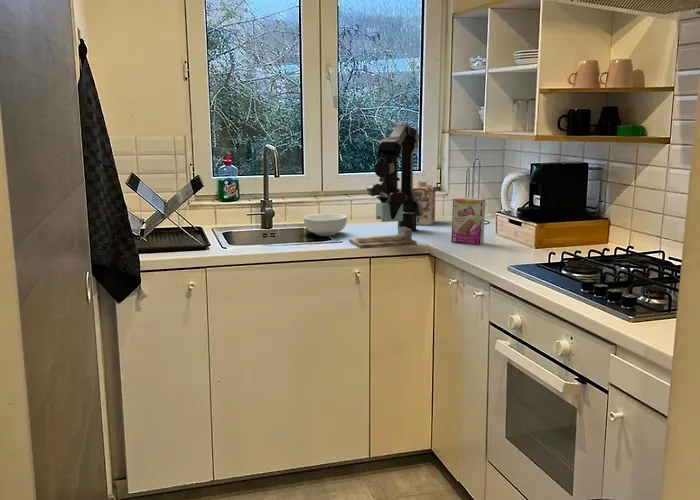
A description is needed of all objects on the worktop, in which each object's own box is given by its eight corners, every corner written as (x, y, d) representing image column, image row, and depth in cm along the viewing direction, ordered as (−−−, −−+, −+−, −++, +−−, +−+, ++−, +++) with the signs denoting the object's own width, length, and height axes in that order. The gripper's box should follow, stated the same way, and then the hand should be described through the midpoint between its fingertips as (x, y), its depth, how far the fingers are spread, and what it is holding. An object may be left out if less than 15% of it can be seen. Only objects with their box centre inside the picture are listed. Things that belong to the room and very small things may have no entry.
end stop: (404, 237, 270) (404, 226, 269) (411, 240, 263) (411, 229, 262) (398, 237, 269) (398, 227, 268) (405, 240, 262) (405, 230, 262)
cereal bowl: (313, 229, 292) (313, 212, 290) (352, 231, 287) (352, 214, 285) (297, 236, 276) (297, 218, 275) (337, 239, 271) (337, 220, 269)
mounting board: (404, 238, 273) (404, 235, 272) (416, 244, 261) (416, 241, 261) (349, 241, 266) (349, 239, 266) (359, 248, 255) (359, 245, 254)
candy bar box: (450, 242, 264) (452, 198, 261) (454, 240, 269) (456, 196, 266) (480, 245, 260) (482, 200, 256) (484, 242, 264) (485, 198, 261)
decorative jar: (435, 221, 312) (436, 180, 308) (432, 225, 301) (433, 182, 297) (408, 220, 314) (408, 179, 311) (404, 224, 303) (404, 182, 300)
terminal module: (396, 218, 267) (396, 202, 266) (402, 220, 261) (402, 204, 260) (375, 219, 264) (376, 203, 263) (382, 222, 258) (382, 205, 257)
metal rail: (406, 238, 268) (406, 234, 268) (409, 239, 265) (409, 235, 265) (355, 241, 262) (355, 237, 261) (358, 242, 259) (358, 238, 259)
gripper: (360, 173, 265) (360, 214, 269) (377, 178, 248) (377, 222, 251) (388, 172, 269) (388, 213, 272) (407, 177, 252) (407, 220, 255)
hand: (389, 217), depth 263 cm, fingers closed on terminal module, 6 cm apart
